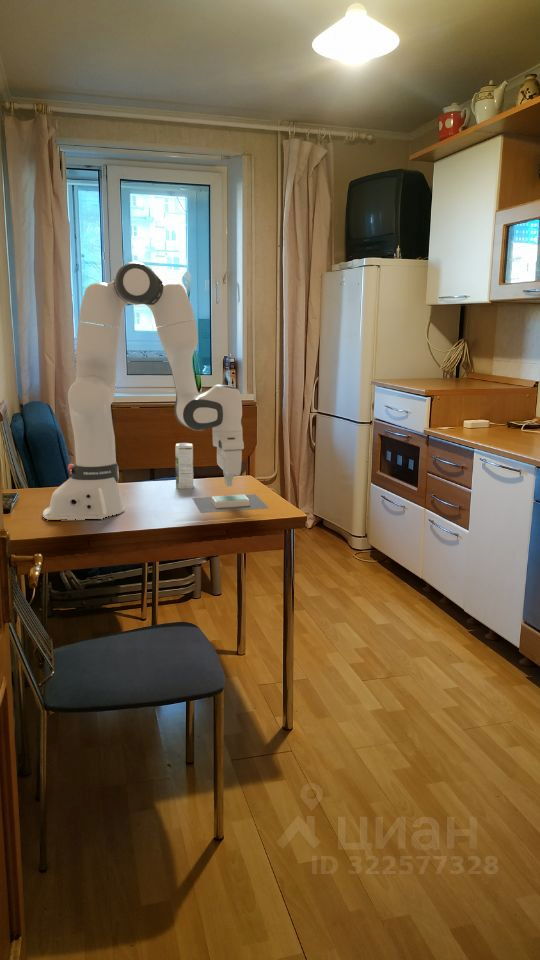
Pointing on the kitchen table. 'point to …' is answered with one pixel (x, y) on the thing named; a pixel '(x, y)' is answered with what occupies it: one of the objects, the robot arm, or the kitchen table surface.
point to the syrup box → (184, 465)
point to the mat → (207, 506)
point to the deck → (230, 501)
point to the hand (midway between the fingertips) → (228, 485)
